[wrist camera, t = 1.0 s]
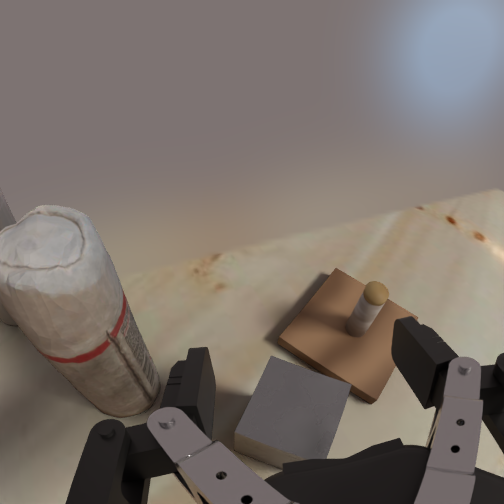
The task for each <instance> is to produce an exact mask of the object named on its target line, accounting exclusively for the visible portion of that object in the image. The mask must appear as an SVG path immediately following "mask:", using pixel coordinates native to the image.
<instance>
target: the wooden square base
mask: <svg viewBox="0 0 504 504" xmlns="http://www.w3.org/2000/svg"><path fill="white" fill-rule="evenodd" d="M388 297H389V292H388V289H387V288H386V287H385V285H383V284H382V283H380V282H376V281H372V282H369V283H368V284H367V285H364V284H362V283H361V282H359V281H357V280H356V279H354V278H352V277H351V276H349V275H347V274H346V273H344V272H342V271H340V270H339V269H337V268H335V270H334V271H333V272H332V273H331V275H330V276H329V277H328V278H327V280H326V281H325V282H324V283H323V285H322V286H321V287H320V288H319V290H318V291H317V292H316V293H315V295H314V296H313V297H312V298H311V299H310V301H309V302H308V303H307V304H306V306H305V307H304V308H303V309H302V310H301V312H300V313H299V314H298V315H297V316H296V318H295V319H294V320H293V321H292V322H291V323H290V325H289V326H288V327H287V328H286V329H285V330H284V332H283V333H282V334H281V335H280V336H279V339H278V344H279V345H281V346H282V347H284V348H285V349H287V350H288V351H290V352H291V353H293V354H294V355H296V356H297V357H298V358H300V359H301V360H303V361H304V362H306V363H307V364H309V365H310V366H312V367H313V368H315V369H317V370H318V371H320V372H321V373H323V374H324V375H326V376H328V377H331V378H334V379H337V380H340V381H343V382H346V383H349V384H352V385H351V388H350V391H351V392H352V393H354V394H355V395H357V396H359V397H360V398H362V399H363V400H365V401H367V402H368V403H370V404H373V403H374V402H375V401H376V400H377V399H378V398H379V396H380V394H381V392H382V390H383V389H384V387H385V385H386V383H387V381H388V379H389V378H390V376H391V374H392V372H393V370H394V368H395V366H396V365H395V363H394V361H393V359H392V355H391V346H392V337H393V328H394V322H395V320H396V319H400V318H404V317H409V316H412V317H414V318H415V319H416V321H417V319H418V317H417V316H415V315H413V314H412V313H410V312H408V311H407V310H405V309H404V308H402V307H400V306H399V305H397V304H395V303H394V302H392V301H390V300H389V299H388Z"/></svg>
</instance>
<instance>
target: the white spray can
mask: <svg viewBox="0 0 504 504" xmlns="http://www.w3.org/2000/svg"><path fill="white" fill-rule="evenodd" d="M0 301H1V303H2V304H3V306H4V307H5V309H6V310H7V312H8V313H9V315H10V316H11V317H12V319H13V320H14V321H15V322H16V323H17V325H18V326H19V328H20V329H21V330H22V331H23V333H24V334H25V335H26V336H27V338H28V339H29V340H30V341H31V342H32V344H33V345H34V346H35V348H36V349H37V350H38V351H39V352H40V353H41V354H42V355H43V356H44V357H45V358H46V359H47V360H48V361H49V362H50V363H51V364H52V365H53V366H54V367H55V368H56V369H57V371H58V372H60V373H61V374H63V376H64V377H65V378H67V379H68V381H69V382H70V383H71V384H72V385H73V386H74V387H75V388H76V389H77V390H78V391H79V392H80V393H81V394H82V395H83V396H85V397H86V398H87V399H88V400H89V401H90V402H92V403H93V404H94V405H95V406H96V407H97V408H98V409H99V410H100V411H101V412H103V413H104V414H107V415H110V416H114V417H118V418H124V417H129V416H132V415H137V414H139V413H141V412H144V411H145V410H147V409H149V408H150V407H151V406H152V404H153V402H154V400H155V398H156V397H157V395H158V392H159V389H160V383H159V376H158V373H157V371H156V367H155V365H154V363H153V360H152V358H151V356H150V354H149V352H148V350H147V348H146V345H145V343H144V341H143V339H142V335H141V334H140V332H139V330H138V327H137V325H136V322H135V320H134V317H133V315H132V312H131V310H130V307H129V304H128V302H127V299H126V296H125V295H124V292H123V289H122V286H121V283H120V280H119V278H118V275H117V272H116V270H115V267H114V265H113V262H112V260H111V258H110V255H109V254H108V252H107V251H106V249H105V247H104V245H103V242H102V240H101V238H100V236H99V234H98V232H97V231H96V229H95V227H94V225H93V223H92V221H91V219H90V218H89V217H88V216H87V215H86V214H84V213H81V212H79V211H77V210H75V209H73V208H68V207H62V206H56V205H43V206H37V207H36V208H35V209H34V210H32V211H30V212H28V213H27V214H26V215H25V216H24V217H23V218H22V219H21V220H20V221H18V222H17V223H16V224H13V225H10V226H7V227H5V228H4V229H3V230H1V231H0Z"/></svg>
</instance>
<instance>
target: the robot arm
mask: <svg viewBox="0 0 504 504" xmlns="http://www.w3.org/2000/svg"><path fill="white" fill-rule="evenodd" d="M16 223H17V222H16V221H15V218H14V216H13V214H12V212H11V210H10V208H9V206H8V204H7V202H6V199H5V197H4V195H3V193H2V191H1V188H0V231H1V230H3V229H4V228H5V227H7V226H10V225H13V224H16ZM0 319H1V321H3V322H4V323H6V324H8V325H17V323H16V322H15V321H14V320H13V319H12V317H11V316H10V315H9V313H8V312H7V310H6V309H5V307H4V306H3V304H2V303H1V301H0ZM391 355H392V359H393V361H394V363H395V365H396V366H397V368H398V369H399V371H400V372H401V374H402V375H403V377H404V378H405V380H406V381H407V383H408V384H409V386H410V387H411V389H412V390H413V392H414V393H415V395H416V397H417V398H418V400H419V401H420V403H421V404H422V406H423V408H424V409H427V408H430V407H433V406H435V408H436V411H435V414H434V418H433V421H432V425H431V429H430V432H429V436H428V439H427V443H426V446H425V447H424V446H418V445H403V443H402V441H401V439H400V438H397V439H394V440H391V441H387V442H384V443H380V444H377V445H373V446H371V447H369V448H367V449H365V450H363V451H361V452H359V453H357V454H354V455H352V456H350V457H348V458H344V459H308V460H301V461H295V462H288V463H282V466H283V471H282V472H279V473H277V474H274V475H272V476H270V477H268V478H267V479H265V480H263V479H262V478H260V477H259V476H258V475H257V474H256V473H255V472H253V471H252V470H251V469H250V468H249V467H248V466H246V465H245V464H244V463H243V462H242V461H241V460H240V459H238V458H237V457H236V456H235V455H234V454H233V453H232V452H231V451H230V450H229V449H227V448H226V447H225V446H224V445H223V444H222V443H221V442H219V441H217V440H216V441H214V442H212V441H211V439H212V427H213V415H214V403H215V392H216V383H215V376H214V372H213V367H212V363H211V359H210V355H209V351H208V348H207V347H200V348H190V349H189V351H188V355H187V359H186V360H183V361H178V362H177V363H176V364H175V365H174V366H173V367H172V368H171V371H170V375H169V379H168V382H167V385H166V389H165V392H164V396H163V399H162V403H161V407H160V409H158V410H156V411H155V412H153V413H152V414H151V415H150V416H149V418H148V420H147V423H144V424H141V425H136V426H132V427H127V428H125V426H124V424H123V423H122V422H120V421H118V420H115V419H107V420H103V421H101V422H99V423H97V424H96V425H95V426H94V427H93V428H92V429H91V431H90V434H89V436H88V439H87V442H86V444H85V447H84V450H83V453H82V456H81V458H80V461H79V464H78V467H77V470H76V473H75V476H74V479H73V482H72V485H71V488H70V491H69V494H68V497H67V501H66V504H147V501H148V493H149V486H150V479H151V478H152V477H157V476H162V475H166V474H170V473H172V474H173V475H174V476H175V477H176V479H177V480H178V481H179V482H180V484H181V485H182V486H183V487H184V489H185V490H186V491H187V492H188V493H189V495H190V496H191V497H192V498H193V499H194V501H195V502H196V503H197V504H504V478H503V477H500V476H498V475H495V474H492V473H489V472H487V471H484V470H481V469H479V468H476V467H475V464H476V458H477V452H478V445H479V438H480V430H481V422H482V420H483V422H484V423H485V425H486V426H487V428H488V429H489V431H490V433H491V434H492V436H493V437H494V439H495V440H496V442H497V444H498V445H499V447H500V449H501V450H502V452H503V453H504V353H502V354H500V355H499V356H498V357H497V360H496V363H495V365H487V366H480V364H479V363H478V362H477V361H476V360H474V359H472V358H469V357H459V356H458V355H457V354H456V353H455V352H454V351H453V350H452V349H451V348H450V347H449V346H448V345H447V343H446V342H444V341H443V339H442V338H441V337H439V335H438V334H437V333H436V332H435V331H434V330H433V329H432V328H430V327H428V326H426V325H424V324H422V325H420V324H419V323H418V322H417V321H416V319H415V318H414V317H412V316H409V317H404V318H400V319H396V320H395V322H394V328H393V337H392V346H391Z"/></svg>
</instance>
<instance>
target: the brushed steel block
mask: <svg viewBox="0 0 504 504" xmlns="http://www.w3.org/2000/svg"><path fill="white" fill-rule="evenodd" d="M351 385H352V384H349V383H346V382H343V381H340V380H337V379H334V378H331V377H328V376H325V375H322V374H319V373H317V372H314V371H311V370H308V369H305V368H303V367H300V366H297V365H295V364H292V363H289V362H287V361H284V360H281V359H279V358H276V357H274V356H271V357H270V359H269V361H268V364H267V366H266V368H265V370H264V372H263V374H262V376H261V378H260V381H259V383H258V385H257V387H256V389H255V391H254V393H253V395H252V397H251V399H250V401H249V403H248V405H247V408H246V410H245V412H244V414H243V416H242V418H241V420H240V422H239V424H238V426H237V428H236V430H235V432H234V451H237V452H239V453H241V454H244V455H246V456H249V457H251V458H254V459H256V460H259V461H262V462H264V463H267V464H270V465H272V466H275V467H278V468H281V469H283V466H282V463H288V462H295V461H301V460H308V459H326V458H327V455H328V453H329V450H330V447H331V445H332V442H333V439H334V436H335V434H336V431H337V428H338V425H339V422H340V419H341V416H342V413H343V410H344V407H345V404H346V401H347V398H348V395H349V391H350V388H351Z"/></svg>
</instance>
